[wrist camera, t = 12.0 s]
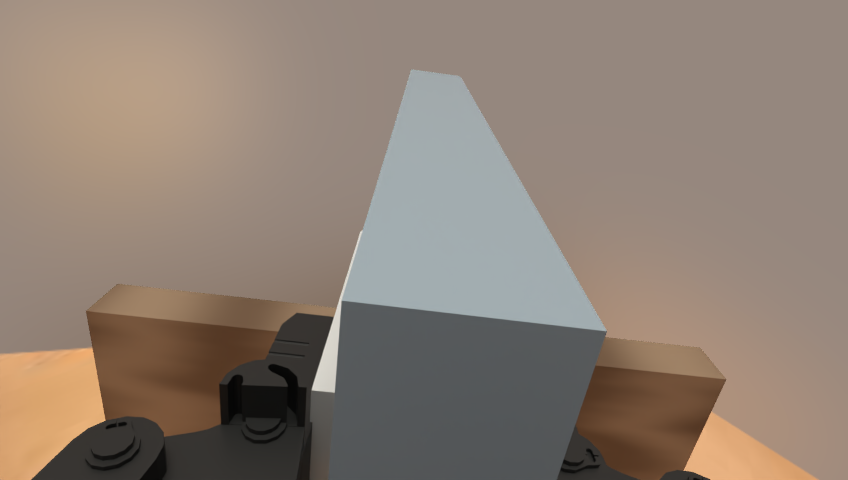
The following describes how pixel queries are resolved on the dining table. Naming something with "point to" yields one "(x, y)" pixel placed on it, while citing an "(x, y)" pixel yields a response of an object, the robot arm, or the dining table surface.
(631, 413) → the walnut slotted board
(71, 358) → the dining table surface
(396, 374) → the slate slotted plate
